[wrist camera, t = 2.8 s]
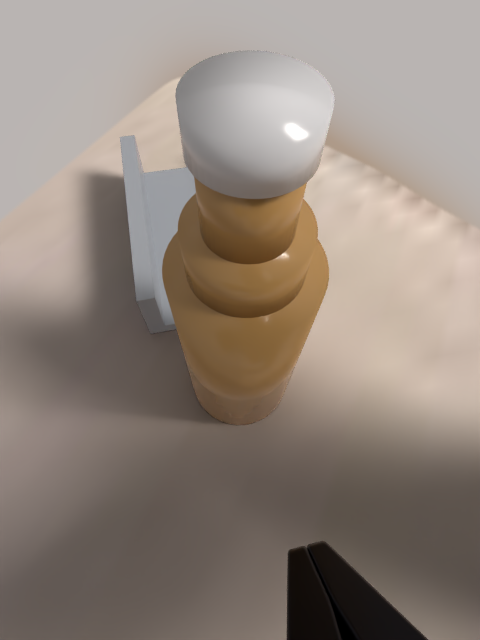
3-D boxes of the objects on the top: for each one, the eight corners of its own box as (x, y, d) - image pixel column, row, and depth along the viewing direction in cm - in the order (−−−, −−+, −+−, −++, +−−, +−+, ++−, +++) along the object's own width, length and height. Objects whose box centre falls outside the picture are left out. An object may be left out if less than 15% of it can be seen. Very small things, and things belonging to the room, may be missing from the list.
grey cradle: (298, 307, 20) (310, 271, 17) (150, 334, 19) (136, 301, 16) (251, 166, 25) (254, 121, 22) (133, 182, 24) (119, 137, 21)
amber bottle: (295, 351, 18) (409, 48, 7) (271, 438, 16) (374, 228, 5) (211, 326, 19) (178, 6, 7) (179, 407, 17) (58, 150, 5)
